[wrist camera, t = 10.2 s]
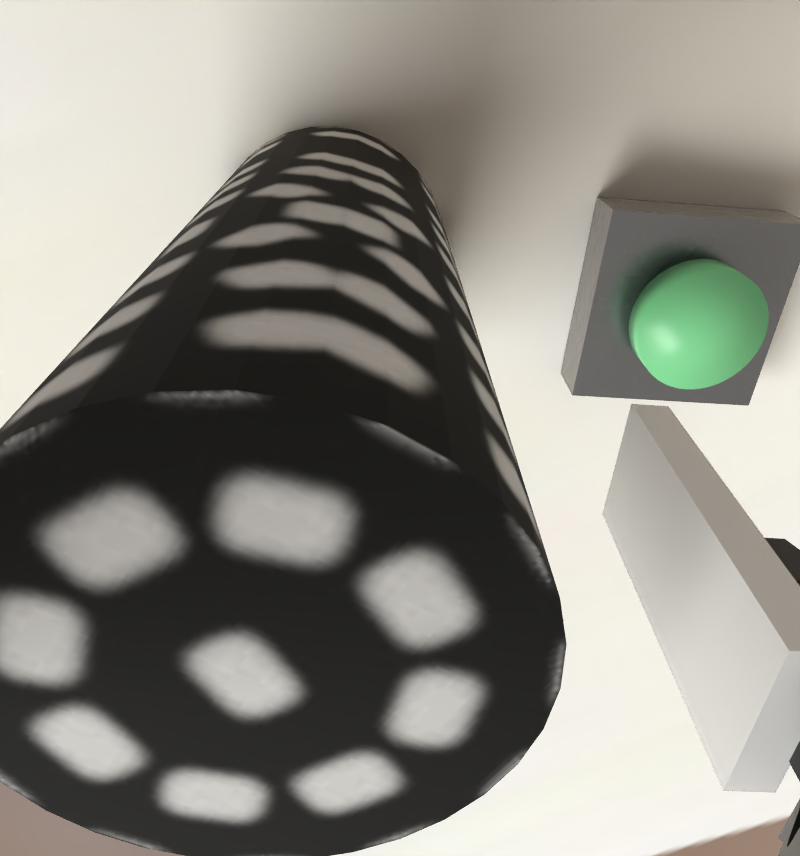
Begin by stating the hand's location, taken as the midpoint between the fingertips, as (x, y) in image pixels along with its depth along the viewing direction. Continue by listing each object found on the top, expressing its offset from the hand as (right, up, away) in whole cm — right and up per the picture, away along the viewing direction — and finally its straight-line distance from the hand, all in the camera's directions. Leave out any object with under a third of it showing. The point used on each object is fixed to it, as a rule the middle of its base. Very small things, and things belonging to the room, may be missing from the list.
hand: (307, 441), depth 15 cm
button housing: (+12, +5, +13) cm, 19 cm away
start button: (+12, +5, +12) cm, 18 cm away
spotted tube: (-1, +7, +12) cm, 14 cm away
